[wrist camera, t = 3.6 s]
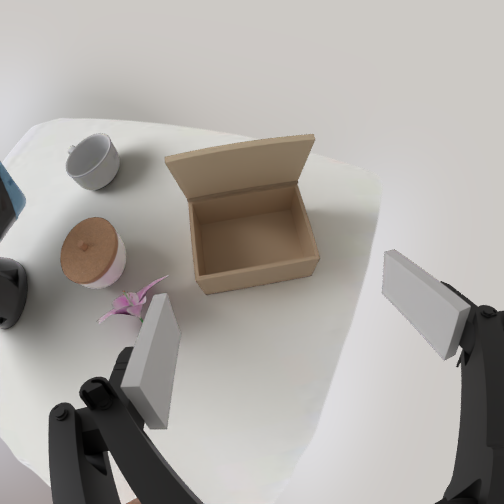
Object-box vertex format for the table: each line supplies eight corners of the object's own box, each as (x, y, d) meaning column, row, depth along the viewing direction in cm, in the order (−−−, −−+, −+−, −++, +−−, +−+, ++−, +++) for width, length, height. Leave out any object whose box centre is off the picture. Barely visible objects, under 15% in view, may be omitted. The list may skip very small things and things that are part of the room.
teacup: (134, 169, 52) (119, 143, 44) (96, 206, 48) (76, 183, 41) (103, 146, 55) (90, 123, 48) (70, 178, 52) (53, 157, 45)
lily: (192, 289, 43) (158, 246, 36) (179, 358, 34) (133, 319, 28) (136, 301, 46) (101, 264, 40) (117, 360, 37) (73, 327, 31)
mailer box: (311, 275, 42) (320, 258, 35) (205, 294, 41) (195, 280, 35) (292, 208, 46) (297, 183, 40) (197, 224, 46) (188, 201, 39)
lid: (316, 142, 28) (313, 133, 28) (165, 165, 27) (164, 156, 27) (297, 184, 40) (295, 177, 40) (188, 202, 39) (187, 195, 39)
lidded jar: (88, 241, 45) (61, 216, 37) (138, 235, 46) (115, 206, 37) (81, 297, 41) (49, 280, 33) (133, 295, 41) (105, 276, 33)
